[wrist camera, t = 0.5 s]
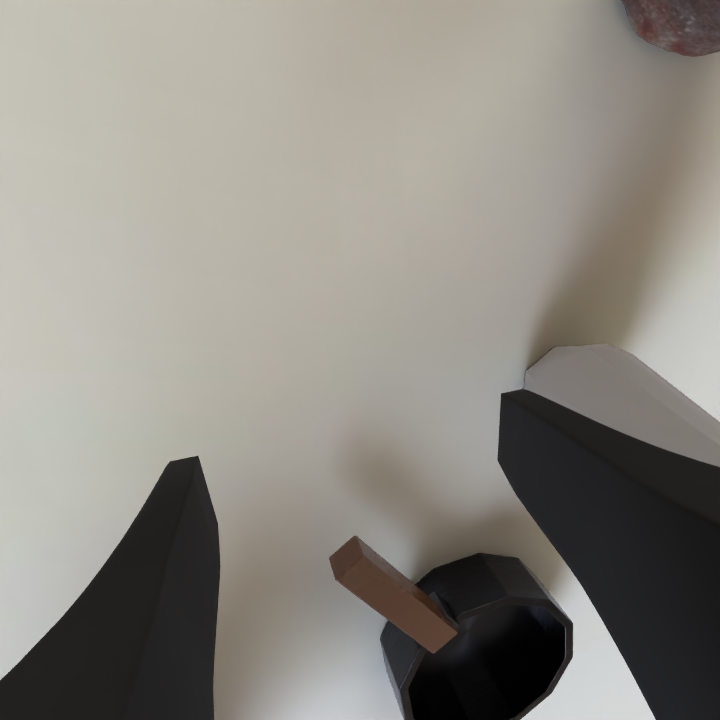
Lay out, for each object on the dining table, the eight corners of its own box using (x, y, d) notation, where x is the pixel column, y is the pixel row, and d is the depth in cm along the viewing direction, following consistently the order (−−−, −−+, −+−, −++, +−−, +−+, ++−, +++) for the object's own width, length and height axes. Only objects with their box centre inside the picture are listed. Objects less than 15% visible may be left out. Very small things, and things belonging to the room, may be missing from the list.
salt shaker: (627, 352, 27) (955, 505, 15) (570, 447, 28) (833, 656, 16) (542, 312, 24) (849, 455, 13) (485, 417, 26) (716, 635, 14)
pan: (566, 608, 33) (608, 660, 29) (445, 710, 33) (473, 774, 30) (407, 444, 25) (439, 489, 22) (253, 579, 25) (260, 645, 22)
